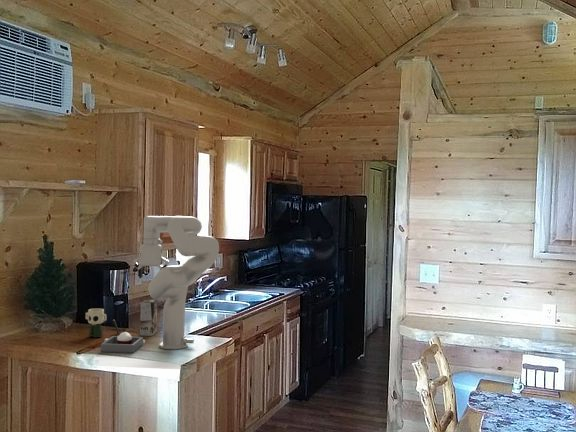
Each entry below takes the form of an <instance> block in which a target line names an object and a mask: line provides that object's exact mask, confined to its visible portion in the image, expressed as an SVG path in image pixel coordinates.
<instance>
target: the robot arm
mask: <svg viewBox="0 0 576 432" xmlns="http://www.w3.org/2000/svg"><path fill="white" fill-rule="evenodd" d="M202 227H203V225H202V222H201V221H200V219H199V218H197V217H194V216H185V215H175V216H174V215H173V216H172V215H171V216H168V215H164V216H163V215H160V216H159V215H147V216H146V215H145V216H144V218H143V238H142V239H143V240H142V241H143V242H142V243H143V244H142V245H141V248H140V254H139V257H137V258H135V259H133V260H132V263H133V265H134V266H135V268H136V269H137V270H138V271H137V272H138V273H137V275H138V278H139V279H142V278H143V267H158V268H159V271H158V272H157V273H156V274H155V275H154V277H152V279H150V282H149V284H148V294H149V295H150V297H151V298H152V299H153V300H163V299H165V303H164V305H163V310H162V311H163V314H162V315H163V317H162V319H163V323H162V341H161V342H160V343H159V344H158V346H159V348H161V349H165V350H180V349H185V348H187V347H188V344H194V342H195V339H193V338H192V337H191V338H188V337H187V334H185V323H186V300H187V294H188V289H189V288H188V287H189V286H191V285H192V284H193V283H194V282H195V281H197V279H198V278H200V277H201V276H202V275H203V274H204V273H205V272H206V271H207V270H208V269H209V268H211V267H212V266H213V265H214V264H215V262H216V260H217V259H218V256H219V253H220V252H219V251H220V245H219V241H218V240H217V239H216V238H215V237H214V236H210V235H198V234H199V233H200V232H201V231H202ZM160 233H168V234H169V237H170V238H171V241H172V242H173V244H174V245H175V248H176V249H177V252H178V253H179V254H180V255H181V256H183V257H190V258H188V260H186V262H184V263H183V264H180V265H178V264H177V265H169V264H170V260H169V259H166V258H165V257H163V256H164V255H163V248H162V245H161V244H163V241H164V240H163V239H161V236H160V235H161V234H160ZM138 261H139V263H138ZM163 262H164V263H163ZM163 264H164V265H163Z"/></svg>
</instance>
